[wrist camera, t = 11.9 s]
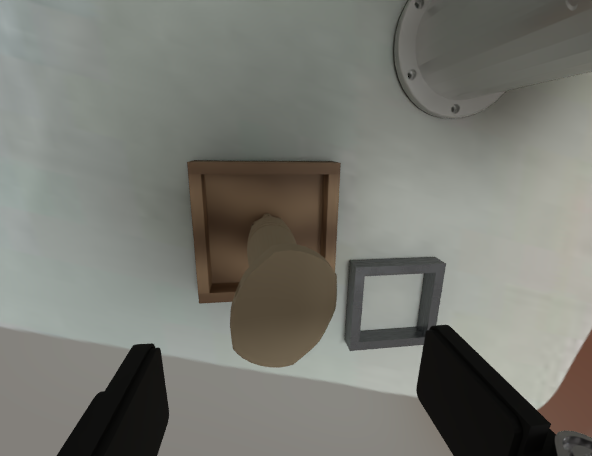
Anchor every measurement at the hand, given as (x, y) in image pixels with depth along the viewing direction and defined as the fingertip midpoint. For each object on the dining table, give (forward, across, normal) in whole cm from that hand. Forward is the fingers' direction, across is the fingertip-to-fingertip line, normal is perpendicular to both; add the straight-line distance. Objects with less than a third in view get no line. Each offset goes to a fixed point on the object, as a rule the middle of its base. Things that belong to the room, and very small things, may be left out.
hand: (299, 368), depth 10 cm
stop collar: (+20, -13, +10) cm, 26 cm away
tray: (+20, +1, +1) cm, 20 cm away
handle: (+19, 0, +1) cm, 19 cm away
